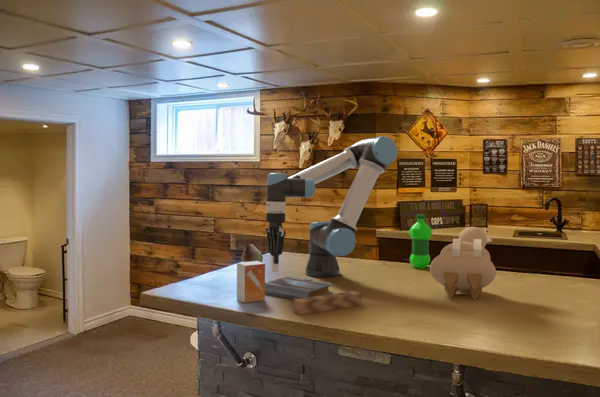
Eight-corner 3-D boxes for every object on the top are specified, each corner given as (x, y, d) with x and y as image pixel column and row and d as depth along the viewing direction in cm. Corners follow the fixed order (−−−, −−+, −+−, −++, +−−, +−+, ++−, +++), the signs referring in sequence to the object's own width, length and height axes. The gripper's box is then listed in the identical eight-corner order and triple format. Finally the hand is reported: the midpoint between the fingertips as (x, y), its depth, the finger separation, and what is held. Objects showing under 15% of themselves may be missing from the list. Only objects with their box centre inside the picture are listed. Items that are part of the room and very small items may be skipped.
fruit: (245, 265, 233) (245, 240, 232) (264, 266, 232) (265, 241, 231) (240, 270, 223) (240, 243, 222) (260, 270, 222) (260, 244, 221)
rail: (354, 302, 168) (354, 290, 168) (361, 305, 164) (361, 293, 164) (293, 311, 156) (293, 299, 156) (299, 314, 152) (299, 302, 152)
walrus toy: (497, 205, 172) (431, 204, 180) (498, 275, 156) (425, 270, 163) (493, 252, 194) (434, 249, 202) (494, 317, 178) (430, 311, 185)
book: (261, 294, 180) (261, 281, 179) (288, 286, 193) (288, 274, 193) (307, 304, 167) (307, 289, 167) (333, 294, 180) (333, 281, 180)
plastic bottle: (433, 269, 227) (434, 215, 226) (410, 269, 227) (411, 215, 226) (428, 265, 237) (429, 214, 236) (406, 265, 237) (407, 213, 236)
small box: (244, 303, 165) (244, 265, 165) (236, 299, 171) (236, 262, 170) (265, 300, 170) (265, 263, 169) (256, 296, 175) (256, 260, 175)
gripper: (260, 211, 196) (258, 269, 197) (274, 213, 185) (273, 275, 186) (276, 210, 200) (275, 268, 201) (292, 213, 188) (290, 273, 189)
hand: (274, 271), depth 193 cm, fingers closed
